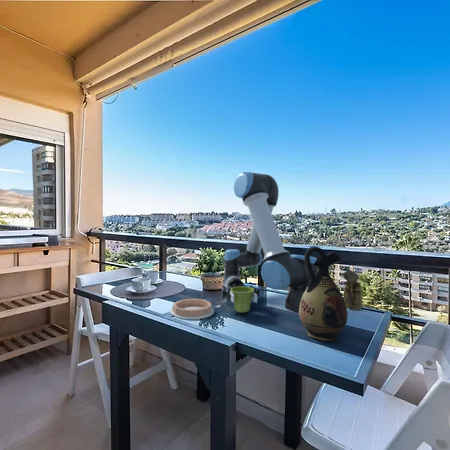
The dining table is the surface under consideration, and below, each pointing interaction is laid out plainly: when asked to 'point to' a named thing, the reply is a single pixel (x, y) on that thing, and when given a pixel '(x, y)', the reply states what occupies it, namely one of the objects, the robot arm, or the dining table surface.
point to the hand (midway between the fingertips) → (244, 298)
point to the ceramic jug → (322, 299)
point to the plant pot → (242, 298)
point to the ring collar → (192, 309)
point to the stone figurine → (352, 291)
